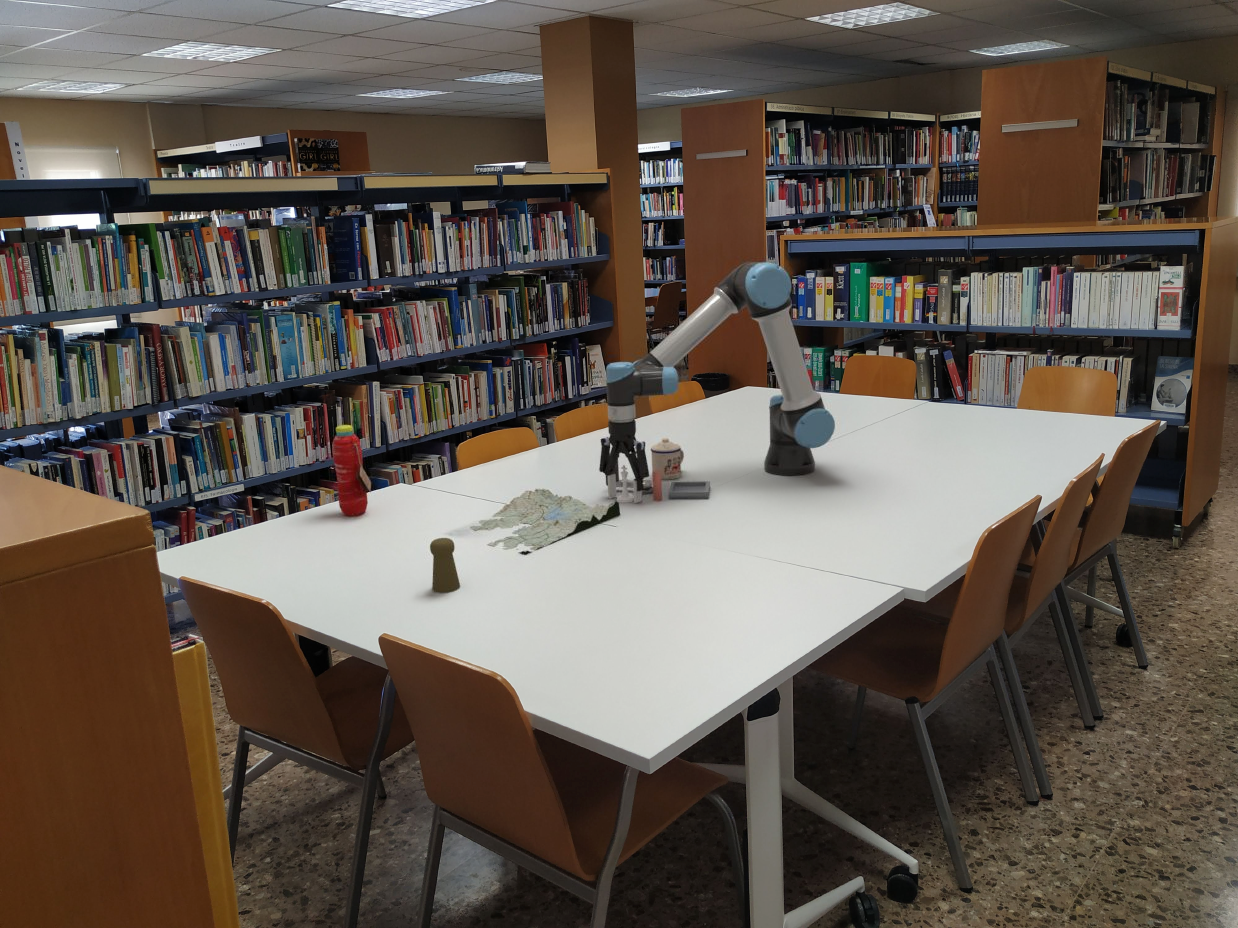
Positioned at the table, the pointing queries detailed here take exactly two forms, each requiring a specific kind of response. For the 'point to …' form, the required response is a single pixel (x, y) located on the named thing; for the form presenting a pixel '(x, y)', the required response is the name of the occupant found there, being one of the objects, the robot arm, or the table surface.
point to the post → (657, 486)
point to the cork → (444, 566)
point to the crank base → (647, 491)
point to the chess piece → (625, 488)
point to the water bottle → (350, 472)
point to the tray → (689, 490)
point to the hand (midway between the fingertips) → (625, 499)
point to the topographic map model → (546, 519)
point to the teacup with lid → (667, 459)
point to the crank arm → (646, 483)
